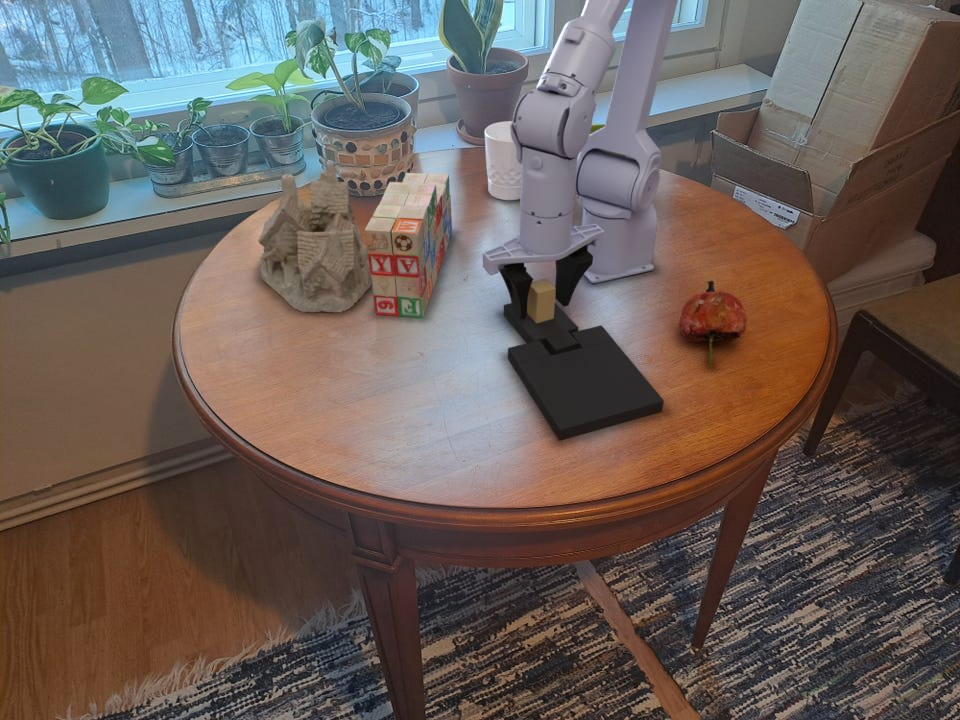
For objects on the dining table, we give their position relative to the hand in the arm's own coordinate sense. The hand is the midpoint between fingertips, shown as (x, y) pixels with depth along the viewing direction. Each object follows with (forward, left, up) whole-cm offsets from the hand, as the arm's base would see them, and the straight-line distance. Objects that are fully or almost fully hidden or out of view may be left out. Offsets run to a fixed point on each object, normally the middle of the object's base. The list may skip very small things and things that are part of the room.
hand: (541, 308), depth 85 cm
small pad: (0, +1, -3) cm, 3 cm away
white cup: (-10, -35, -3) cm, 36 cm away
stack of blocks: (+11, -17, -3) cm, 21 cm away
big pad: (0, +11, -3) cm, 12 cm away
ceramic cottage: (+24, -21, -3) cm, 32 cm away
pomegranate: (-17, +10, -3) cm, 20 cm away
